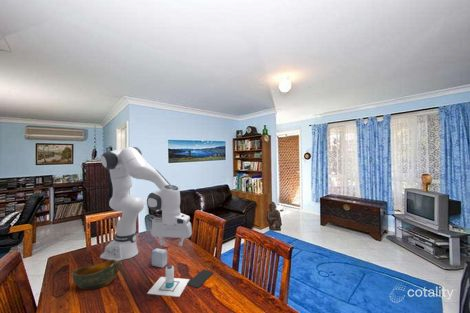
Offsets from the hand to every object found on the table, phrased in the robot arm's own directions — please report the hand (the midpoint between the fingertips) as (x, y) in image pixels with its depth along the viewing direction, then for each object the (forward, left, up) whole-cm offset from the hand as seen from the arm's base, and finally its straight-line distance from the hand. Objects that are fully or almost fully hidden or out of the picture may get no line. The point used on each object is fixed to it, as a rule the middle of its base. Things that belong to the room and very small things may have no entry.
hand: (171, 245), depth 101 cm
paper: (-1, -1, -20) cm, 20 cm away
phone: (+13, +7, -21) cm, 26 cm away
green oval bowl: (-38, -4, -20) cm, 43 cm away
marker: (-1, -1, -20) cm, 20 cm away
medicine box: (-16, +17, -20) cm, 31 cm away
